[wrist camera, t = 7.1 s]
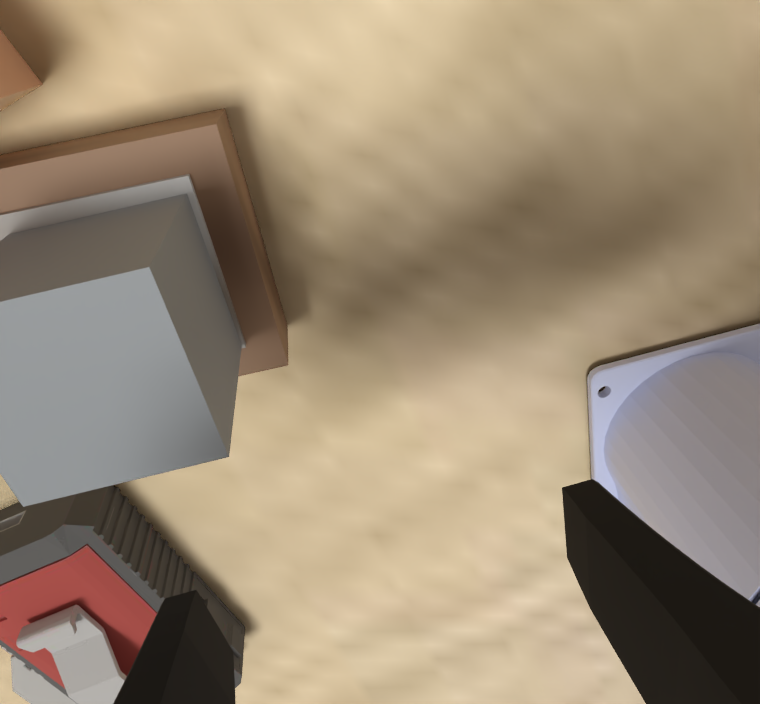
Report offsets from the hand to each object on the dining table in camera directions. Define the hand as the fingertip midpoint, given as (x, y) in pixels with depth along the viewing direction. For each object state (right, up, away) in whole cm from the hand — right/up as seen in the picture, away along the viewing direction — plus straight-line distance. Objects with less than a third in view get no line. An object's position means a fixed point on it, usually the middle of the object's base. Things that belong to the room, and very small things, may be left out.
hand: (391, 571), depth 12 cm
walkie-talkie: (-11, -8, +16) cm, 21 cm away
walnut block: (-7, +8, +7) cm, 13 cm away
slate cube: (-7, +6, +4) cm, 10 cm away
